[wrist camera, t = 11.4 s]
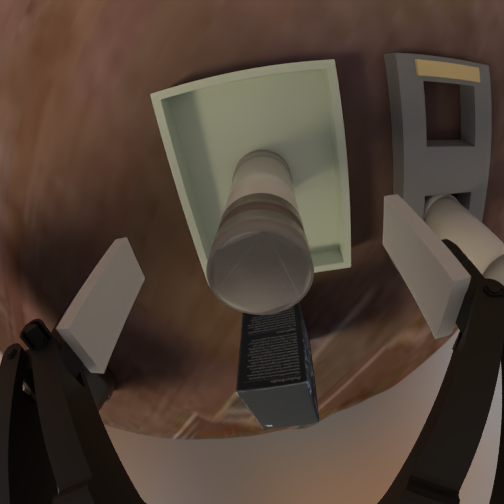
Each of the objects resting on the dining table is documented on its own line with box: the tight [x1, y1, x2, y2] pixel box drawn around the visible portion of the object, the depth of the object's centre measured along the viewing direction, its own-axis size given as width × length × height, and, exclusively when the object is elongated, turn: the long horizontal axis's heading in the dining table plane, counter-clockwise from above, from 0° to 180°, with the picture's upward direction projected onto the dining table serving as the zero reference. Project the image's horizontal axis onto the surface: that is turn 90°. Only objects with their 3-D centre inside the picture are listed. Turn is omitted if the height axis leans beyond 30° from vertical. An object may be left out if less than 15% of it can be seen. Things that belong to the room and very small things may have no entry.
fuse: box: [423, 194, 504, 285], centre depth 18 cm, size 4×4×12 cm
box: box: [236, 301, 319, 430], centre depth 26 cm, size 8×6×11 cm
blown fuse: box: [206, 150, 314, 315], centre depth 17 cm, size 4×4×12 cm
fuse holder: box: [383, 53, 492, 271], centre depth 19 cm, size 18×9×2 cm, turn 11°
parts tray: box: [150, 59, 351, 285], centre depth 21 cm, size 16×12×2 cm
